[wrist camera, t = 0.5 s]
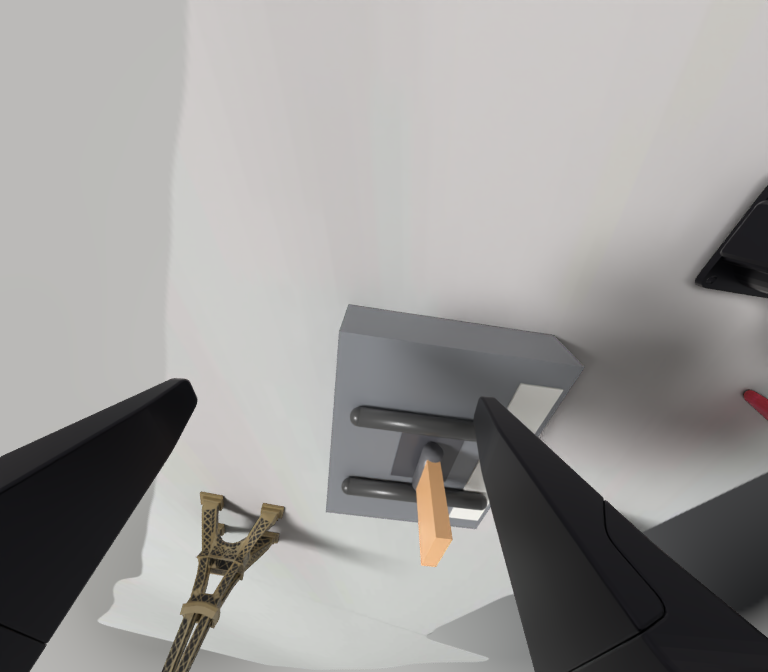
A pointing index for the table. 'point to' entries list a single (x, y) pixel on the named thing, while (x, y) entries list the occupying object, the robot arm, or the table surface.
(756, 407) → the smartphone
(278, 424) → the table surface
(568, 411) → the table surface
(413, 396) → the breaker panel
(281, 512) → the eiffel tower
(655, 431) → the table surface
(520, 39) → the table surface
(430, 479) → the breaker lever
